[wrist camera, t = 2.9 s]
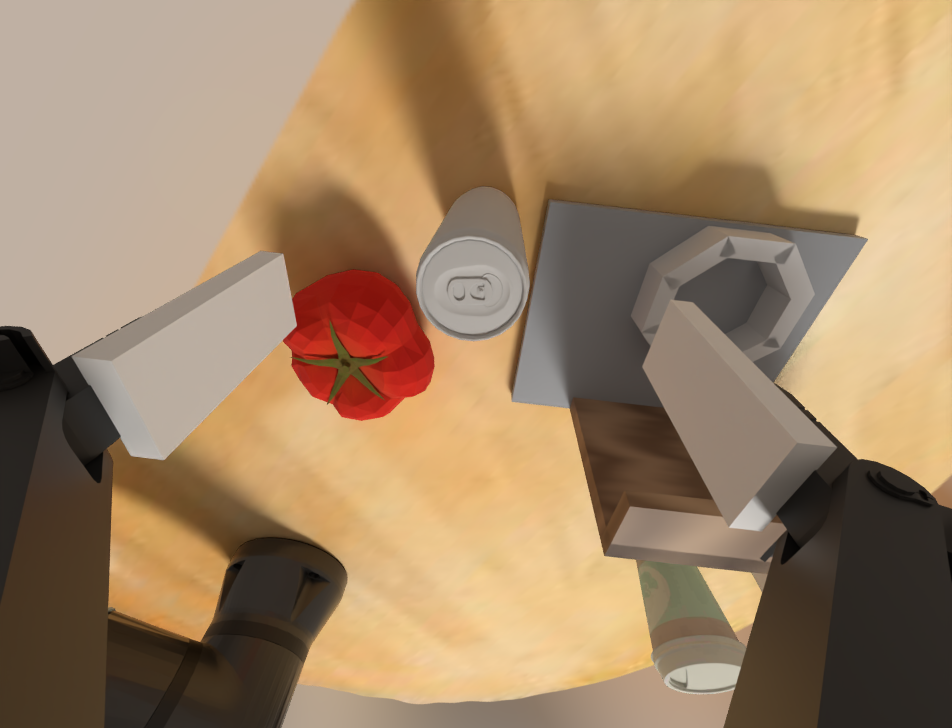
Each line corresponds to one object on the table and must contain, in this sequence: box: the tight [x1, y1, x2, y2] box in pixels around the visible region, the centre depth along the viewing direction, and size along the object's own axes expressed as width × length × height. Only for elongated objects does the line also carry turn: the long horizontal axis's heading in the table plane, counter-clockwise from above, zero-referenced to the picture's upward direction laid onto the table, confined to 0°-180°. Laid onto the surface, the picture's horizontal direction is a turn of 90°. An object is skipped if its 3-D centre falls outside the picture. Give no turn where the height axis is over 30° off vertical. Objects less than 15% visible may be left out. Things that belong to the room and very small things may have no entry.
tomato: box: [283, 269, 434, 421], centre depth 28 cm, size 10×11×6 cm
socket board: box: [511, 199, 868, 408], centre depth 27 cm, size 20×16×4 cm
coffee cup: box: [636, 560, 746, 694], centre depth 40 cm, size 8×8×12 cm
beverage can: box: [416, 186, 530, 341], centre depth 20 cm, size 5×5×12 cm
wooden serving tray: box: [570, 397, 787, 574], centre depth 26 cm, size 14×4×14 cm, turn 84°
